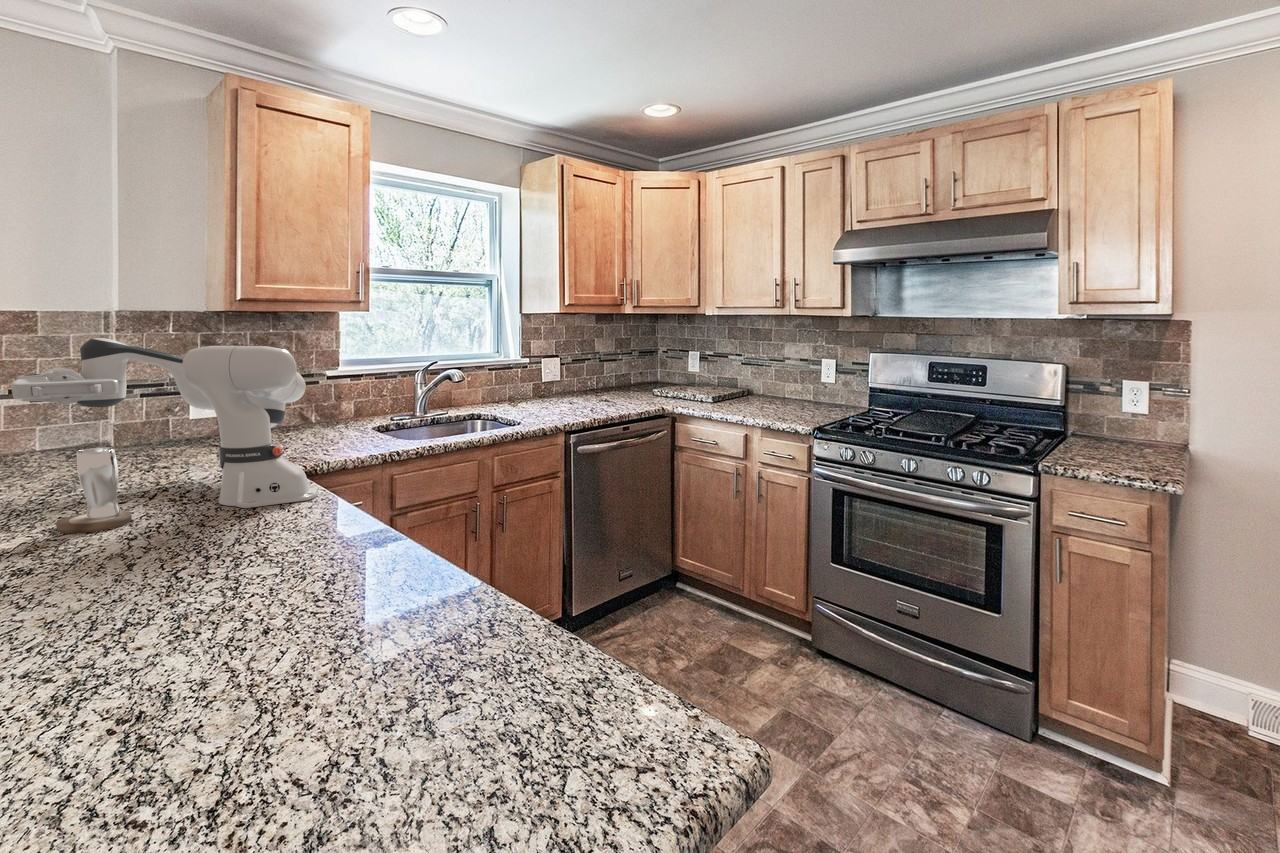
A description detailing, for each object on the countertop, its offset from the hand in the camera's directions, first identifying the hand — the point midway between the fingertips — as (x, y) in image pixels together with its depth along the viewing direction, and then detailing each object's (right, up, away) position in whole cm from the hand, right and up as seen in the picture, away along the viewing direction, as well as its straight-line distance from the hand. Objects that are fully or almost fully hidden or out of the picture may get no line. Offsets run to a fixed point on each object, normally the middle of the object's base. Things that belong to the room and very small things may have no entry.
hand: (69, 390), depth 163 cm
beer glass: (+18, -29, -12) cm, 36 cm away
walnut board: (+17, -30, -13) cm, 37 cm away
